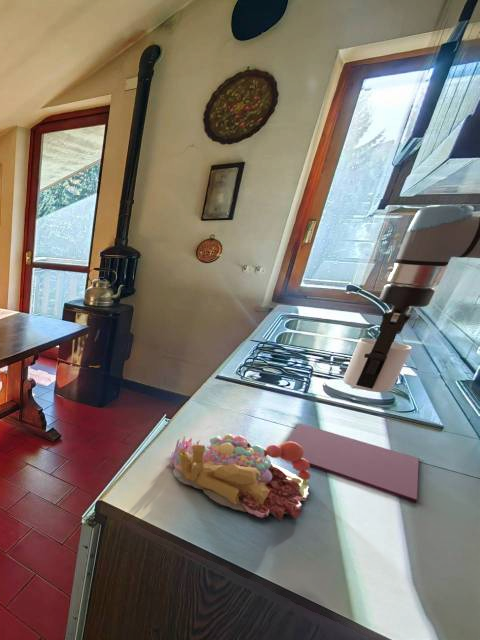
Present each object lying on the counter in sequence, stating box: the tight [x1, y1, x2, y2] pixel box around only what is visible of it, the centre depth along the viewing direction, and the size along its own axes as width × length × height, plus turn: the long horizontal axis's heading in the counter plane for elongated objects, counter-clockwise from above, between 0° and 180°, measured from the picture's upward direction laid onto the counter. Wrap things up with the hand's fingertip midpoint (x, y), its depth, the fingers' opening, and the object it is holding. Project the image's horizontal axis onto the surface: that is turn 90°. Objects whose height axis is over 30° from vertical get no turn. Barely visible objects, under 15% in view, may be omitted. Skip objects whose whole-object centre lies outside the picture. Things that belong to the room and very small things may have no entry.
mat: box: [286, 423, 420, 503], centre depth 90 cm, size 22×22×1 cm
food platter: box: [169, 433, 312, 522], centre depth 79 cm, size 25×24×9 cm
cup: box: [342, 338, 413, 393], centre depth 89 cm, size 8×12×10 cm
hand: (367, 379), depth 90 cm, fingers closed on cup, 12 cm apart
